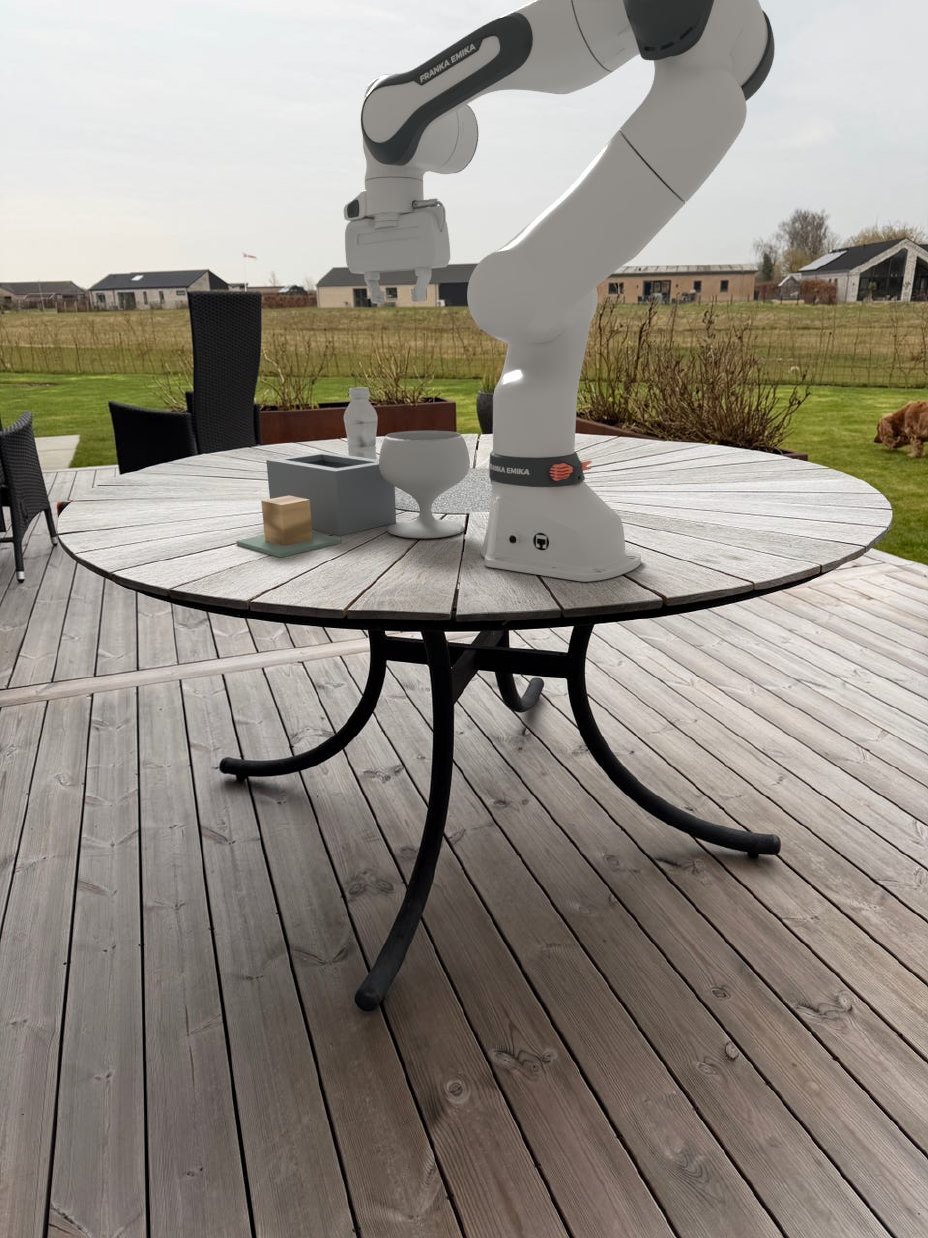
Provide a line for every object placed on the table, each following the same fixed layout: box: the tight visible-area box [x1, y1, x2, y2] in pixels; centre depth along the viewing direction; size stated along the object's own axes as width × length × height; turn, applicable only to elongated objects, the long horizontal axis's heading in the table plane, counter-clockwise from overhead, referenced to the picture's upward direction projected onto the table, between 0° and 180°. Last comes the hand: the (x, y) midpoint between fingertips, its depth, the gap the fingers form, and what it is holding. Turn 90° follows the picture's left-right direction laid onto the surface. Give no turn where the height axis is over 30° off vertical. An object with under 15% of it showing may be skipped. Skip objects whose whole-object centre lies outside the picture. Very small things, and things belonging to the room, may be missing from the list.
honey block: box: [261, 496, 313, 546], centre depth 116 cm, size 5×5×6 cm
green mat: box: [235, 531, 342, 558], centre depth 118 cm, size 11×11×1 cm
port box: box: [266, 451, 397, 537], centre depth 130 cm, size 18×12×10 cm, turn 48°
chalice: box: [378, 430, 471, 539], centre depth 122 cm, size 14×14×15 cm
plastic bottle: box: [343, 386, 378, 460], centre depth 150 cm, size 6×7×20 cm
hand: (397, 302), depth 124 cm, fingers open, 8 cm apart
